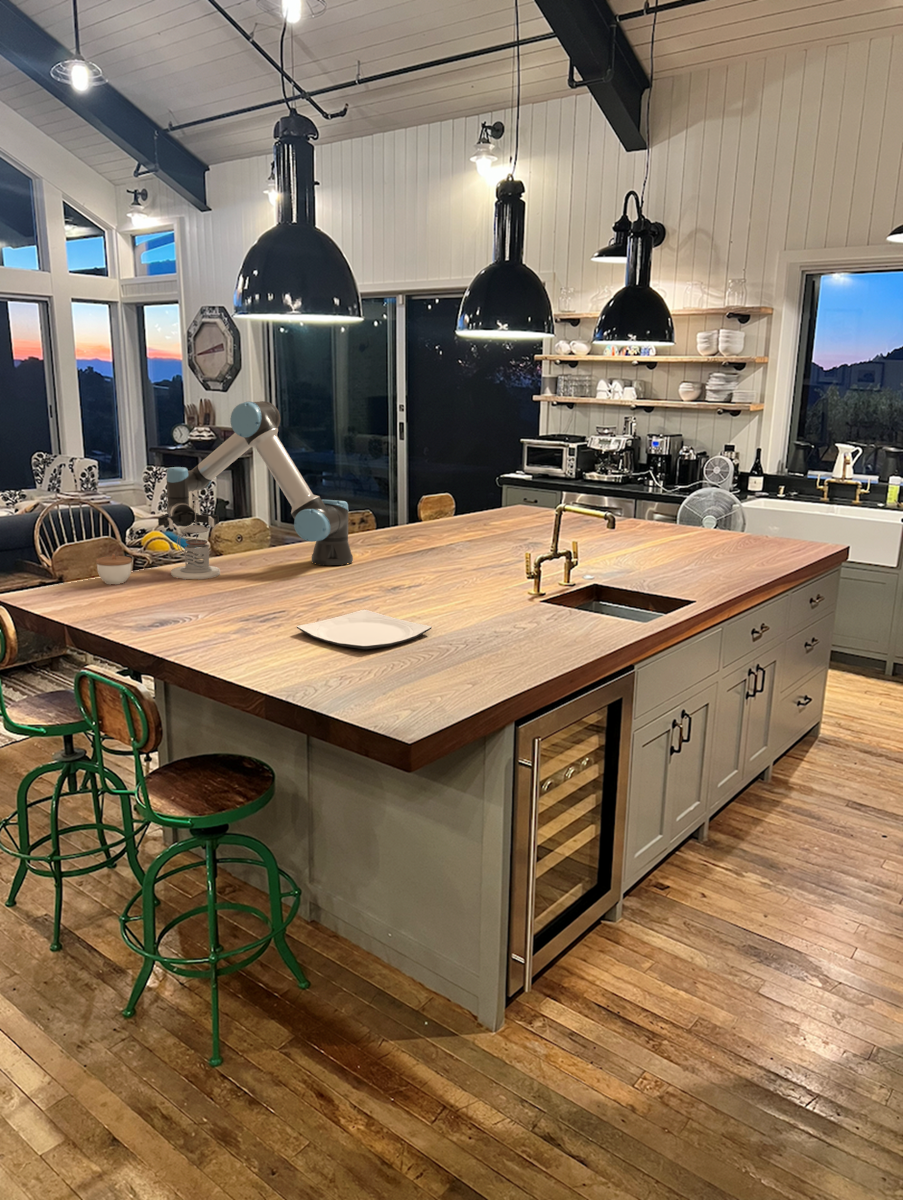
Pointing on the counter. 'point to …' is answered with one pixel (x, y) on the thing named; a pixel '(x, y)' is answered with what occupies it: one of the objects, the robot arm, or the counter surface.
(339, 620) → the plate
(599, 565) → the counter surface
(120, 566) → the lidded jar
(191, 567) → the french press
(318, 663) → the counter surface
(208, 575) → the disc
